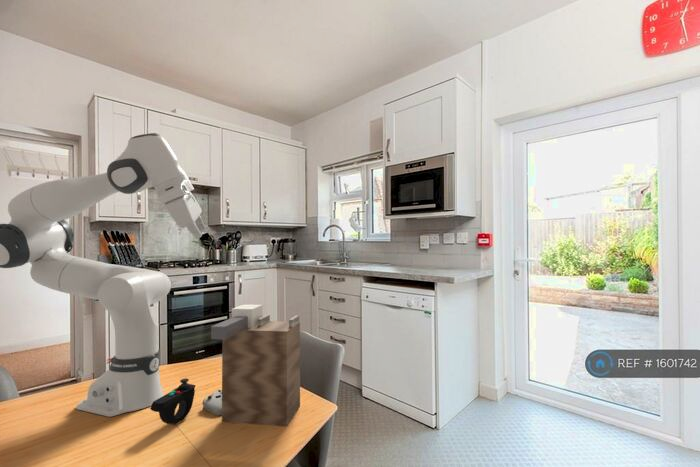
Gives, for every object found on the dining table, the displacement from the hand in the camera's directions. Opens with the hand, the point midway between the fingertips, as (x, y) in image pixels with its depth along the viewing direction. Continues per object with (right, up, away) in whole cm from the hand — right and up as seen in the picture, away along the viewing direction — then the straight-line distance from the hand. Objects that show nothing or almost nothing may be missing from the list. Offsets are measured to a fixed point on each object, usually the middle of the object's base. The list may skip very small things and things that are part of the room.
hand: (201, 233), depth 96 cm
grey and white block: (+13, -26, -8) cm, 30 cm away
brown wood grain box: (+19, -50, -5) cm, 53 cm away
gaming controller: (+6, -51, 0) cm, 51 cm away
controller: (-3, -50, -10) cm, 51 cm away
